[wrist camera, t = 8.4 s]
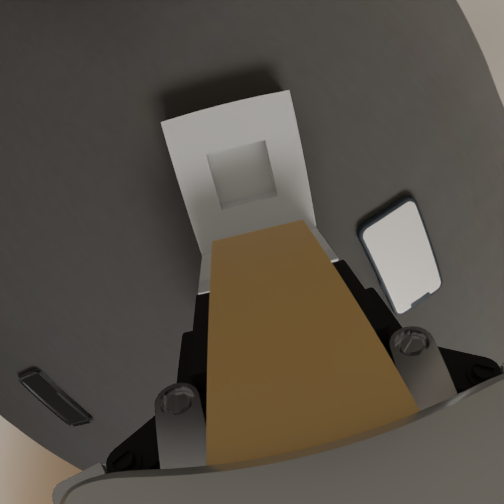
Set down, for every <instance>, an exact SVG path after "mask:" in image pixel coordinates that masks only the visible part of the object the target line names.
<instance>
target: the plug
mask: <svg viewBox="0 0 504 504" xmlns="http://www.w3.org/2000/svg"><path fill="white" fill-rule="evenodd" d="M419 411H420V410H419V408H418V406H417V404H416V402H415V401H414V399H413V397H412V395H411V393H410V392H409V390H408V388H407V386H406V384H405V383H404V381H403V379H402V377H401V375H400V374H399V372H398V370H397V368H396V367H395V365H394V363H393V361H392V360H391V358H390V356H389V354H388V353H387V351H386V349H385V348H384V346H383V344H382V343H381V341H380V339H379V337H378V336H377V334H376V332H375V331H374V329H373V327H372V326H371V324H370V323H369V321H368V319H367V318H366V316H365V314H364V313H363V311H362V309H361V308H360V306H359V305H358V303H357V301H356V300H355V298H354V297H353V295H352V293H351V292H350V290H349V289H348V287H347V285H346V284H345V282H344V281H343V279H342V278H341V276H340V274H339V273H338V271H337V270H336V268H335V267H334V265H333V264H332V262H331V261H330V259H329V258H328V256H327V255H326V253H325V251H324V250H323V248H322V247H321V245H320V244H319V242H318V241H317V239H316V238H315V236H314V235H313V233H312V232H311V231H310V229H309V228H308V226H307V225H306V223H305V222H304V220H299V221H295V222H290V223H286V224H282V225H278V226H273V227H269V228H265V229H261V230H257V231H252V232H248V233H244V234H240V235H236V236H232V237H228V238H224V239H219V240H215V241H212V256H211V275H210V296H209V321H208V353H207V409H206V458H207V466H208V465H217V464H225V463H233V462H240V461H246V460H252V459H258V458H264V457H269V456H274V455H280V454H284V453H289V452H294V451H298V450H302V449H307V448H311V447H315V446H319V445H322V444H326V443H330V442H333V441H337V440H340V439H344V438H347V437H350V436H354V435H357V434H360V433H363V432H366V431H369V430H372V429H375V428H378V427H381V426H383V425H386V424H389V423H392V422H394V421H397V420H400V419H402V418H405V417H407V416H410V415H412V414H415V413H417V412H419Z"/></svg>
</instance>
